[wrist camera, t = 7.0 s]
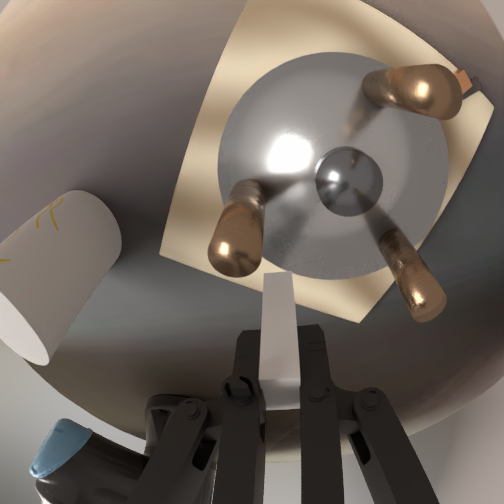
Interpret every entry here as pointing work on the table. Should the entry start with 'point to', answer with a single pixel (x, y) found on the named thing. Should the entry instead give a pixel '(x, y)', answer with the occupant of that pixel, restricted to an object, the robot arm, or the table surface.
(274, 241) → the capstan wheel
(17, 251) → the cup
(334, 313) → the base board
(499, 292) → the table surface
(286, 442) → the table surface
